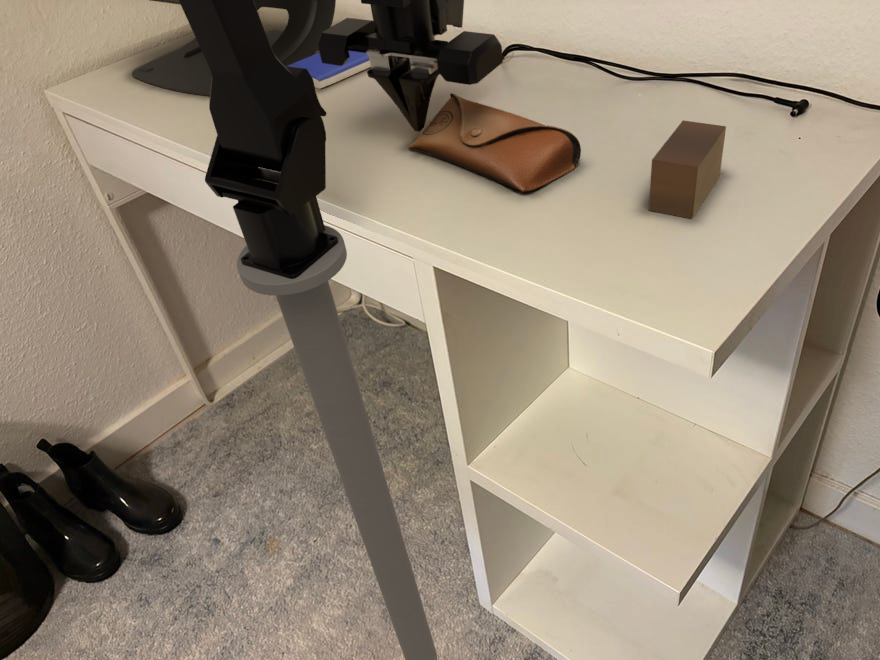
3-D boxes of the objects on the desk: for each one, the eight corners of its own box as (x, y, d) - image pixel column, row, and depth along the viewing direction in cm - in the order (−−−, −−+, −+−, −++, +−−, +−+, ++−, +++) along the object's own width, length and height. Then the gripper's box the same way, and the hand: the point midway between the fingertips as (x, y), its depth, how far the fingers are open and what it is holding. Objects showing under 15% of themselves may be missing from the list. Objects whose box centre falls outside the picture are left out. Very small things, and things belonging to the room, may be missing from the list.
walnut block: (692, 219, 65) (697, 166, 61) (648, 210, 66) (651, 159, 63) (719, 176, 70) (726, 125, 66) (678, 169, 71) (682, 119, 68)
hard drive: (355, 35, 105) (283, 65, 99) (392, 46, 100) (318, 78, 94) (358, 47, 106) (286, 77, 100) (394, 57, 101) (321, 90, 95)
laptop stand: (354, 40, 108) (329, -80, 97) (233, 105, 94) (189, -27, 84) (235, 23, 120) (202, -86, 109) (113, 78, 106) (61, -41, 96)
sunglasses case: (400, 146, 79) (415, 82, 77) (444, 154, 85) (460, 95, 83) (527, 194, 69) (548, 123, 67) (568, 200, 75) (589, 134, 73)
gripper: (524, -48, 70) (530, 110, 81) (365, -58, 78) (390, 88, 88) (465, -9, 63) (481, 157, 74) (297, -24, 71) (333, 129, 81)
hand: (419, 129), depth 79 cm, fingers closed
